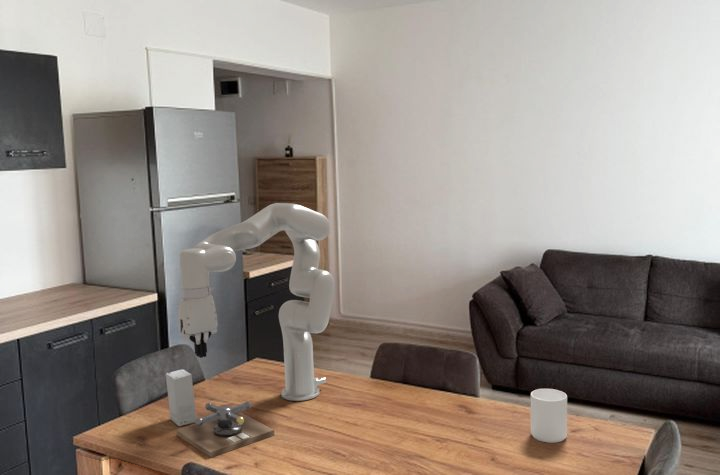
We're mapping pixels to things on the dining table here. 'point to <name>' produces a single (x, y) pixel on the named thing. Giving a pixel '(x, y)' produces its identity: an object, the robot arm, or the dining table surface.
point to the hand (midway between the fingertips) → (201, 356)
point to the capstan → (224, 419)
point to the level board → (218, 445)
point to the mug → (549, 415)
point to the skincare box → (181, 397)
